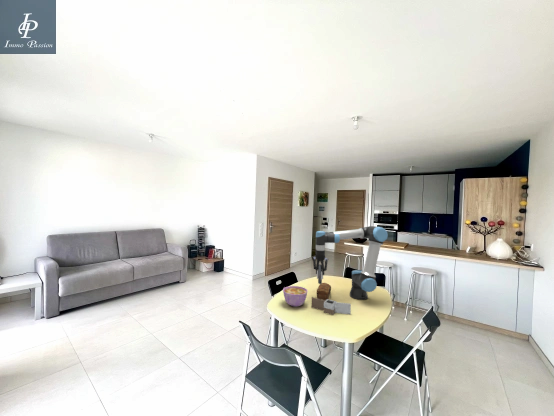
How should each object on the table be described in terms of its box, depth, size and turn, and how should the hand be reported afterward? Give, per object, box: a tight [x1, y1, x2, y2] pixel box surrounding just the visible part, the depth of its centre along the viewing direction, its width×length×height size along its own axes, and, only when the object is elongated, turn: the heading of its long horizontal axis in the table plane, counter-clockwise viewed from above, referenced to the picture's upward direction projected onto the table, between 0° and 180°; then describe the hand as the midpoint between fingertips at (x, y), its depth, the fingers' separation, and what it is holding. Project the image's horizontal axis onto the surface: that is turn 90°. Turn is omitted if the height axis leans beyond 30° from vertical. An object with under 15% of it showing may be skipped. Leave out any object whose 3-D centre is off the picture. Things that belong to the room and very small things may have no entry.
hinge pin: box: [317, 263, 323, 285], centre depth 177 cm, size 3×3×15 cm
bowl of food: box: [282, 285, 309, 308], centre depth 174 cm, size 20×20×12 cm
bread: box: [316, 282, 332, 300], centre depth 192 cm, size 19×11×10 cm, turn 157°
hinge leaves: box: [311, 297, 352, 316], centre depth 162 cm, size 9×29×8 cm, turn 58°
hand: (320, 278), depth 176 cm, fingers closed on hinge pin, 3 cm apart
